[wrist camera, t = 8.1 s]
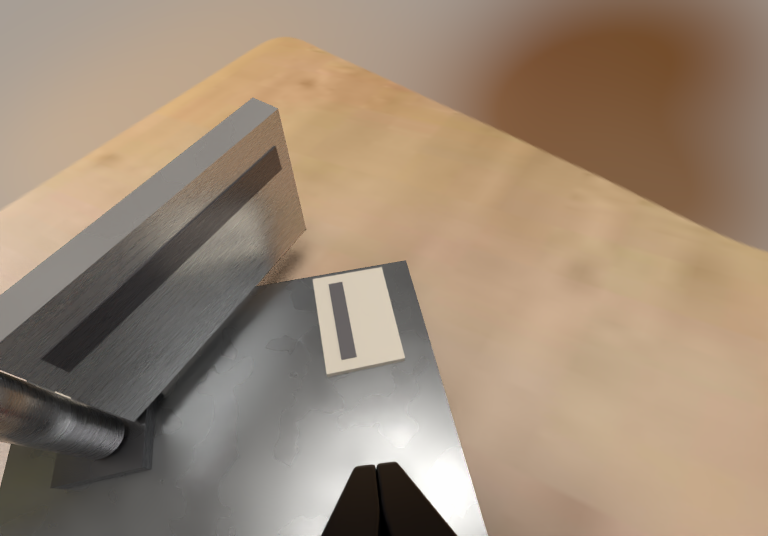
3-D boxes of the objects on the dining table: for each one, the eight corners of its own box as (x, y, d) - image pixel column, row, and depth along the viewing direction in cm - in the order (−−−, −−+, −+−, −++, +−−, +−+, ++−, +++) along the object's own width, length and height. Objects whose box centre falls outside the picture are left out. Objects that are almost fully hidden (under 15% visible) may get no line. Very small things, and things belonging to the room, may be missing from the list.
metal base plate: (510, 643, 14) (531, 662, 13) (-44, 820, 12) (-124, 879, 10) (403, 274, 23) (406, 252, 21) (61, 336, 20) (28, 316, 18)
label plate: (404, 360, 18) (405, 357, 18) (327, 377, 18) (326, 373, 18) (381, 271, 21) (381, 266, 21) (313, 283, 20) (312, 278, 20)
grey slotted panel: (98, 468, 15) (-153, 425, 8) (70, 444, 15) (-193, 383, 8) (309, 231, 21) (276, 85, 14) (284, 218, 21) (241, 70, 14)
